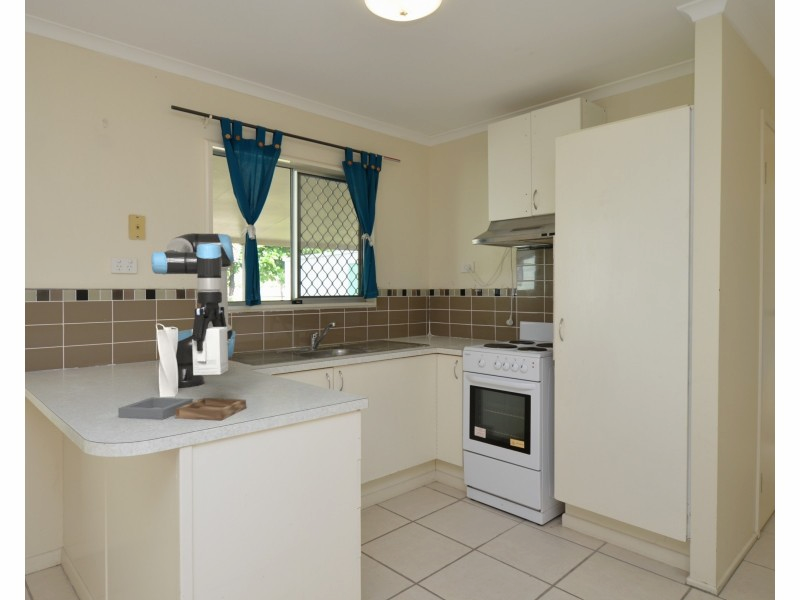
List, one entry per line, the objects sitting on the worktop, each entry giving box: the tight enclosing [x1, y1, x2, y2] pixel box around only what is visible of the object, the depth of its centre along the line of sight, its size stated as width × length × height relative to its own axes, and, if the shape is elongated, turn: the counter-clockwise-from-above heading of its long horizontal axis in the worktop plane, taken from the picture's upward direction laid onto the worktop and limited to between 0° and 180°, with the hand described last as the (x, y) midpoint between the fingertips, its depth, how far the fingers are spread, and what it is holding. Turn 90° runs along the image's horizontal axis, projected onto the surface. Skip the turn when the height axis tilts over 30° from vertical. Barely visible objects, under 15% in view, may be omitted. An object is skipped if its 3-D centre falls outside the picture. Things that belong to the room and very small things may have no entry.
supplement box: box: [192, 327, 229, 376], centre depth 167 cm, size 9×9×15 cm
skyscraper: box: [155, 323, 179, 398], centre depth 195 cm, size 8×8×28 cm
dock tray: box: [174, 397, 247, 421], centre depth 168 cm, size 16×16×3 cm
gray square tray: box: [117, 397, 194, 420], centre depth 170 cm, size 16×16×3 cm
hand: (210, 358), depth 168 cm, fingers closed on supplement box, 10 cm apart
